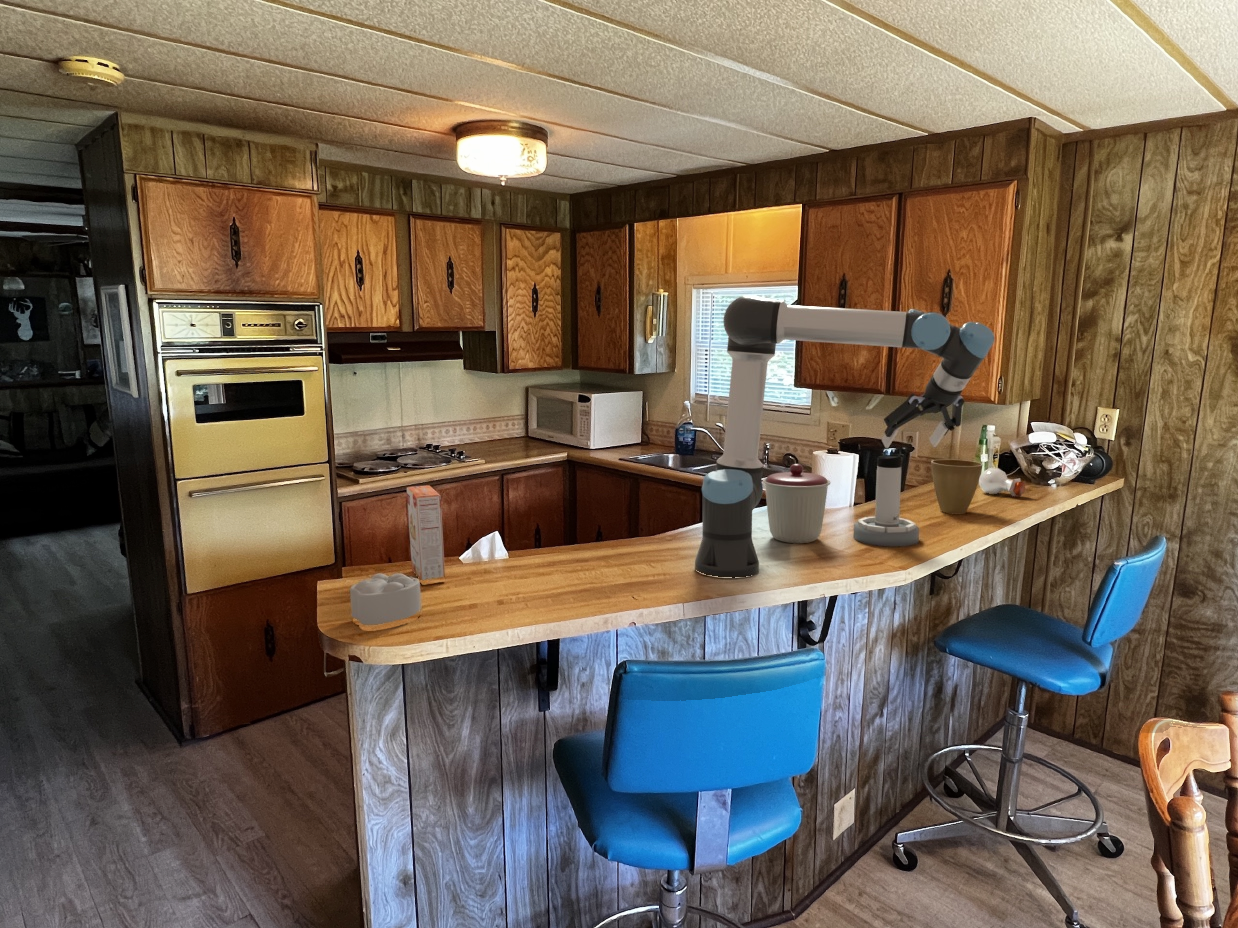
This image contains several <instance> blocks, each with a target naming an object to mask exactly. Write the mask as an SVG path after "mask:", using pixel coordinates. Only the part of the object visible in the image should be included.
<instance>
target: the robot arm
mask: <svg viewBox="0 0 1238 928" xmlns="http://www.w3.org/2000/svg"><path fill="white" fill-rule="evenodd" d="M722 321H723V327H724V330H725V333H726V335H727V336H728V337H727V338H728V339H727V348H726V353H727V354H728V356H730V358H731V359H732V361H731V369H730V370H731V372H730V381H729V392H728V402H727V414H726V423H725V424H726V425H725V434H724V443H723V454H722V455H721V456H720V457H718V459H716V462H715V465H716V466H715V470H713V471H710V472H708V473H707V474H706V475H704V477H703V479H702V485H701V495H702V499H701V501H702V502H701V503H702V538H701V542H700V543H699V544H700V545H699V547H698V551H697V554H696V557H695V559H694V560H695V561H694V570H695V569H696V570H697V571H699V572H701V573H704V574H706V575H712V576H718V577H732V578H735V577H745V578H747V577H746V576H750V577H752V576H751V575H753V576H755V575H757V574H758V573H759V572H760V569H759V568H760V561H759V557H758V554H757V552H756V549H755V546H754V542H753V510H755V508H756V507H757V506H759V503H760V501H761V499H762V497H763V492H764V488H763V467H764V465H763V463H762V462H761V460H760V459H759V448H760V439H761V429H762V419H763V411H764V410H763V409H764V400H765V392H766V391H765V390H766V380H767V372H768V365H769V364H768V363H769V361H770V360H771V359H772V358H774V357H775V355H776V346H777V344H779V345H780V344H781V342H783V341H785V340H786V341H787V340H789V341H801V342H803V341H804V342H817V343H832V344H833V343H834V344H844V345H845V344H848V345H860V346H874V347H875V346H876V347H891V348H892V347H893V348H904V349H905V348H906V349H915V350H916V349H919V350H922V351H925V352H927V353H929V354H931V355H932V354H933V355H935V356H937V357H938V358H942V360H941V361H940V363H939V365H938V366H937V368H936V369H935V371H934V372H933V375H932V376H931V378H930V379H929V381H928V383H927V384H926V386H925V391H924V393H923V394H922V395H920V396H916V394H915V393H911V394H910V395H909V396H908V398H907V399H906V400H905V401H904V402H903V403H901V404H900V405H899V406H898V407H896V408H895V409H894V410H893V411H892V412H890V413H889V414H888V415H887V416H885V417H884V418H883V422H884V423H885V425H886V428H885V430H884V435H883V436H882V438H881V442H882V444H883V446H884V448H886V449H888V448H889V447H890V445H892V442H893V441H894V439H895V438H896V436H897V434H898V433H899V431H900V429H899V428H900V427H902V426H904V425H906V424H907V423H909V422H910V421H912V420H914V419H916V418H918V417H922V416H924V415H926V414H931V413H932V414H939V413H940V414H941V416H942V419H943V421H939V423H938V425H937V426H936V428H935V429H934V430H933V433H931V435H930V436H929V438H928V440H929V442H930V444H931V445H932V447H933V448H934V447H935V448H936V447H937V446H938V445H939V443H940V442H941V440H942V438H943V437H945V436H946V435H947V434H948V432H949V431H954V430H955V427H960V426H961V424H962V410H963V409H962V408H963V405H964V404H965V402H966V400H965V399H964V398H963V396H962V395H961V394H962V392H963V390H964V389H965V388H966V386H967V384H968V383H969V382H970V380H971V378H972V377H973V376H974V375H975V373H976V371H977V370H978V368H979V367H980V365H981V364H982V362H983V361H984V359H986V357H987V355H988V353H989V351H990V350H991V348H992V347H993V344H994V343H995V334H994V332H993V331H992V329H990V328H989V327H988V326H986V325H985V324H982V323H980V322H974V321H969V322H966V323H964V324H963V325H962V326H961V327H959V326H956V325H952V324H951V323H949V322H950V321H948V319H947V318H946V317H945V316H944V315H943V314H940V312H939V313H938V312H933V311H932V312H928V311H927V312H924V311H920V310H917V309H914V308H911V309H909V310H908V312H907V311H893V310H878V309H877V310H876V309H863V308H862V309H860V308H843V307H826V306H825V307H824V306H823V307H822V306H806V305H791V304H789V305H788V304H787V302H785V300H784V299H783V300H782V299H772V298H771V299H770V298H764V297H761V296H757V295H752V294H751V295H750V294H748V295H747V294H746V295H742V296H739V297H738V298H735V299H734V300H733V301H731V302H730V303H729V305H728V306H727V308H726V309H725V311H724V314H723V320H722ZM920 406H921V408H920ZM949 406H951V408H952V410H951V417H950V414H949V411H948V409H947V408H948V407H949ZM696 570H695V571H696Z"/></svg>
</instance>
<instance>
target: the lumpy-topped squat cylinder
mask: <svg viewBox="0 0 1238 928" xmlns="http://www.w3.org/2000/svg"><path fill="white" fill-rule="evenodd" d="M349 592H350V593H349V595H350V607H351V608H350V609H351V610H350V612H351V618H352V617H353V618H355V619H357V620H359V622H360V623H361V624H363V625H378V624H383V623H388V622H392V621H396V620H400V619H405V618H408V617H410V616H412V615H414V614H416V613H417V612H419V611H420V609H421V610H422V595H421V584H420V581H419V579H417V577H413V576H407V575H405V574H403V573H401V572H400V573H397V572H396V573H394V574H393V573H392V574H391V575H389V576H388V575H386V574H384V573H375V574H373V575H372V576H371V578H367V579H363V580H360V581H359V582H358V583H355V584H353V585H351V586H350V587H349Z"/></svg>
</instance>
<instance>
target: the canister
mask: <svg viewBox="0 0 1238 928" xmlns="http://www.w3.org/2000/svg"><path fill="white" fill-rule="evenodd" d="M762 484H764V485H765V486H764V488H765V489H764V491H765V498H766V509H767V511H766V512H767V518H768V526H769V531H770V534H771V536H772V537H773V539H775V540H777V541H780V542H783V543H791V544H806V543H807V544H808V543H812V542H815V541H817V540H818V539H819V537H820V536H821V533H822V529H823V524H824V523H823V522H824V518H825V517H824V516H825V510H826V502H827V497H828V496H827V495H828V487H829V486H830V485H831V480H829V479H827V478H826V477H825V476H823V475H821V474H818V473H811V472H804V466H803V465H802V464H800V463H794V464H792V465H790V467H789V471H787V472H786V471H785V472H776V473H772V474H770V475H768V476H767V477H764V478H762Z"/></svg>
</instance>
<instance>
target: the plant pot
mask: <svg viewBox="0 0 1238 928" xmlns="http://www.w3.org/2000/svg"><path fill="white" fill-rule="evenodd" d="M930 463H931V474H932V480H933V486H934V492H935V496H936V500H937V503H938V507H939V509H940V512H942V511H943V512H942V513H945V512H946V513H945V514H950V513H953V514H952V515H964V514H966V513H967V511H968V510H969V507H970V506H971V503H972V501H973V498H974V496H975V493H976V491H977V488H978V486H979V478H980V475H981V474H982V469H983V466H984V465H983V463H982V462H979V461H973V460H966V459H965V460H964V459H933V460H931V462H930Z"/></svg>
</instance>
